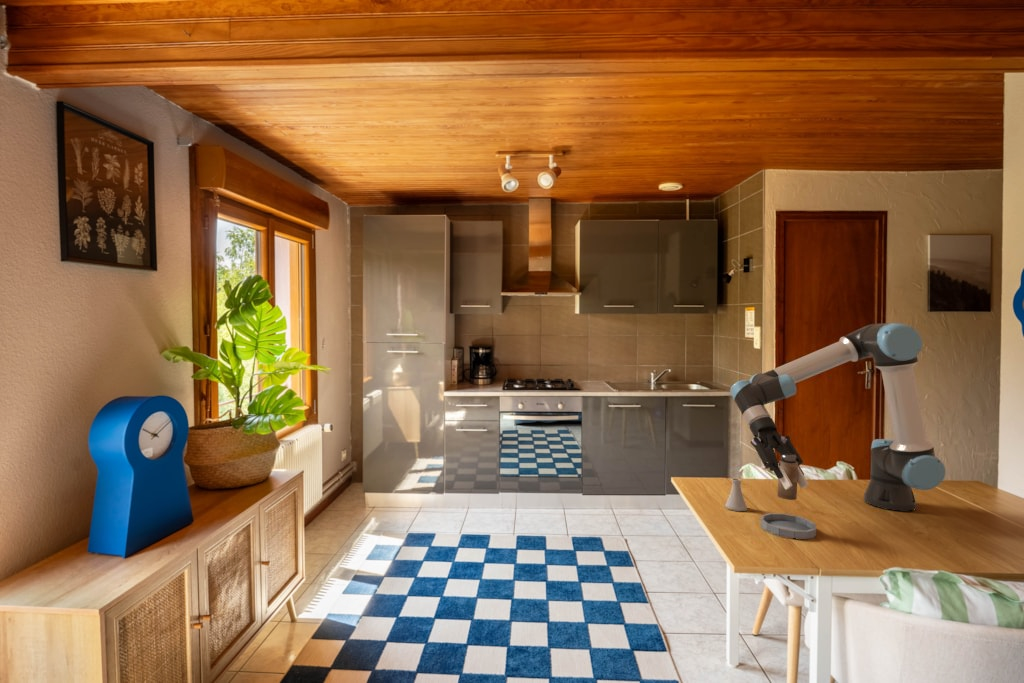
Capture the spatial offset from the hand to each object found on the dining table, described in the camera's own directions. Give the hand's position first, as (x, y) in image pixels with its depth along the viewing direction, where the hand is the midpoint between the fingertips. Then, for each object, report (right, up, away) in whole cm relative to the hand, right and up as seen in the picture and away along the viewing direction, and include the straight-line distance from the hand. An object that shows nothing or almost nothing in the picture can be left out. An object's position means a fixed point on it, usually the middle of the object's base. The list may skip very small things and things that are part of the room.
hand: (797, 486), depth 160 cm
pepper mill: (-1, -4, +4) cm, 6 cm away
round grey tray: (-1, -14, +4) cm, 15 cm away
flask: (-9, -14, +23) cm, 28 cm away
